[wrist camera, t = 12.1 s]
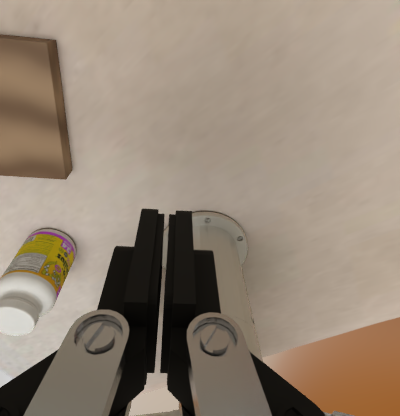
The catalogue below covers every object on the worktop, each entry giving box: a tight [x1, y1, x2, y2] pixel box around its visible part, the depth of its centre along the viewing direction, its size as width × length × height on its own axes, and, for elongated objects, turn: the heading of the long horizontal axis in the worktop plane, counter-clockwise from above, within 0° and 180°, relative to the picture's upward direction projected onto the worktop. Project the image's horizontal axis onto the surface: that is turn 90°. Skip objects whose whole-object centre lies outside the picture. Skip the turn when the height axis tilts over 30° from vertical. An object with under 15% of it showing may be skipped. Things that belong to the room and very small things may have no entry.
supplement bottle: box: [0, 229, 76, 336], centre depth 39 cm, size 7×7×13 cm
